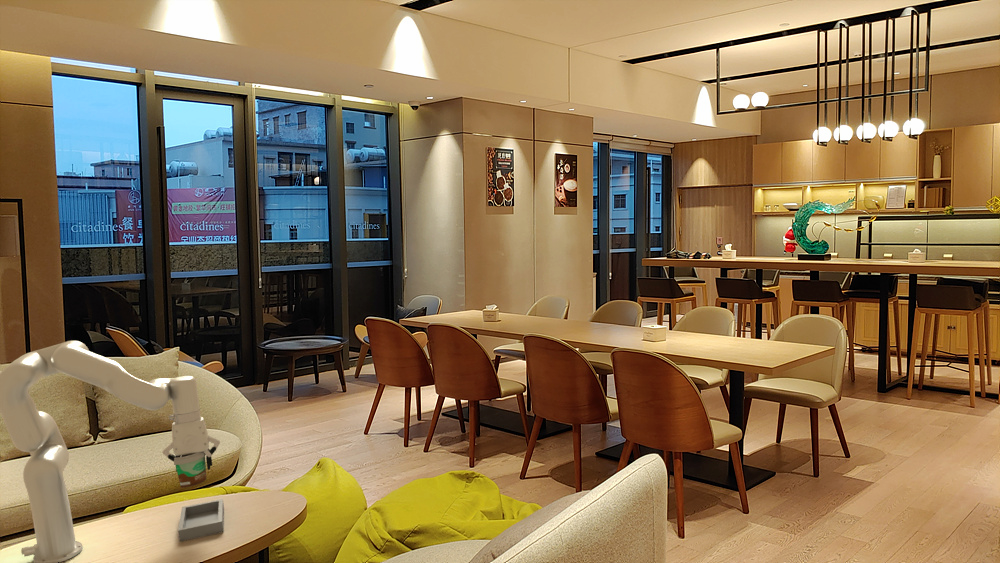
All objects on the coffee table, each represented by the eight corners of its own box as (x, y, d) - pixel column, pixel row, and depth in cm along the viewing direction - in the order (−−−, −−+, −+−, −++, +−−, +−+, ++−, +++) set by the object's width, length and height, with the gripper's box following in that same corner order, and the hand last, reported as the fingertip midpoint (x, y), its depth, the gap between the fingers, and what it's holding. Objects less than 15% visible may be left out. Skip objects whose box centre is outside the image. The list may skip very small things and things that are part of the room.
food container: (196, 489, 223) (191, 458, 222) (177, 489, 224) (172, 458, 223) (218, 472, 235) (213, 443, 234) (201, 473, 236) (196, 443, 235)
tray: (179, 541, 221) (178, 530, 220) (183, 517, 238) (182, 507, 237) (223, 532, 225) (222, 521, 224) (224, 508, 242) (222, 498, 241)
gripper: (155, 424, 220) (163, 481, 223) (217, 414, 226) (224, 469, 228) (157, 418, 227) (165, 472, 230) (217, 408, 233) (224, 461, 235)
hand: (194, 470), depth 229 cm, fingers closed on food container, 7 cm apart
